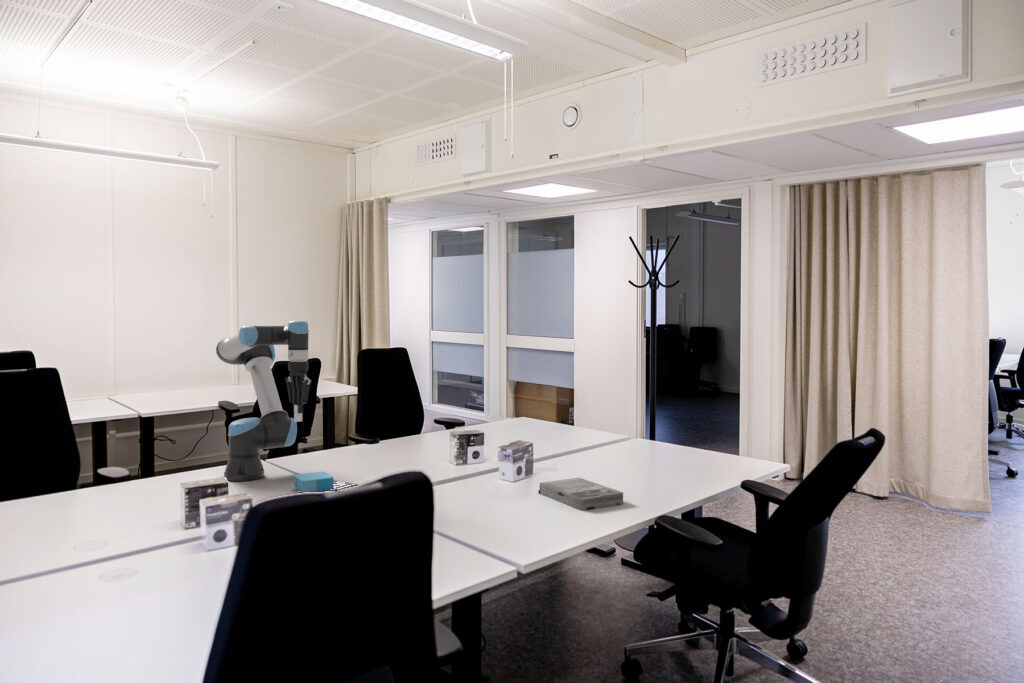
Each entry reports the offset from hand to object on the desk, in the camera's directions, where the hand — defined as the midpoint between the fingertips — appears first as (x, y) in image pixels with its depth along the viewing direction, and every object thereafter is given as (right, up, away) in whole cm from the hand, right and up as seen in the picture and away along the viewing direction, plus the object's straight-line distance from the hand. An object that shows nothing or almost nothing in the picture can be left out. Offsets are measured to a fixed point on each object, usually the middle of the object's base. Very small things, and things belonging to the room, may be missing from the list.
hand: (298, 421), depth 267 cm
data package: (+5, -22, -4) cm, 23 cm away
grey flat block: (+108, -26, -20) cm, 113 cm away
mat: (+13, -24, -7) cm, 28 cm away
